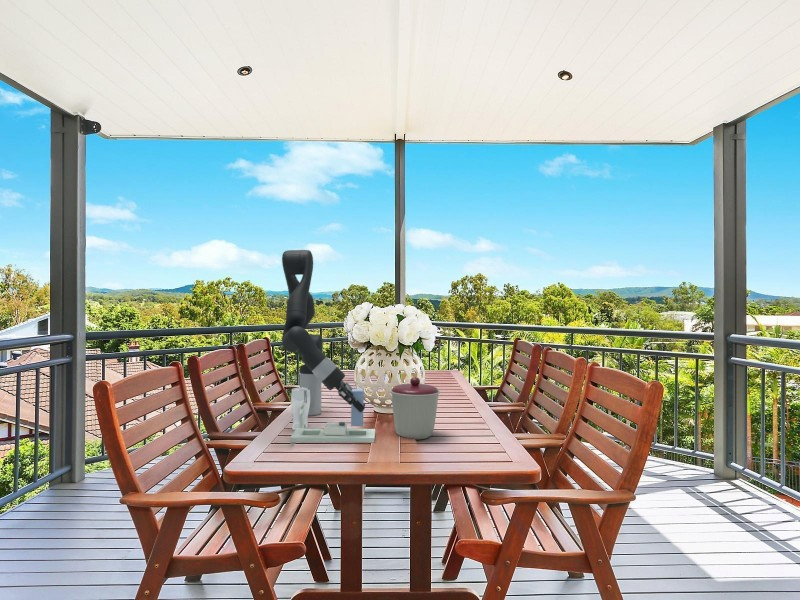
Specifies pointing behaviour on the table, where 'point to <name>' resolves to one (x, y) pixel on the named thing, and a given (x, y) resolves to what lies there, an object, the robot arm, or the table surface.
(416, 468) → the table surface
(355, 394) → the peg
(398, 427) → the canister
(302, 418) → the beer glass
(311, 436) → the board
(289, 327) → the robot arm
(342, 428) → the lid
